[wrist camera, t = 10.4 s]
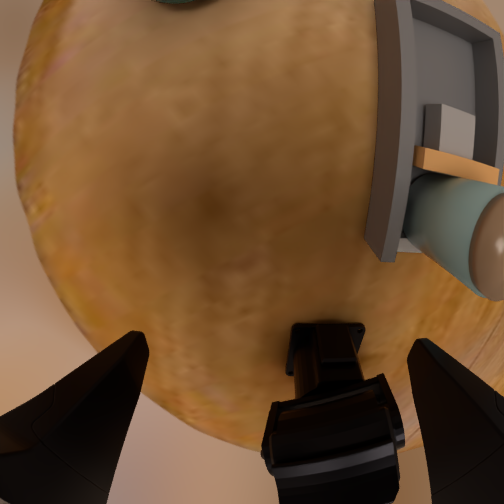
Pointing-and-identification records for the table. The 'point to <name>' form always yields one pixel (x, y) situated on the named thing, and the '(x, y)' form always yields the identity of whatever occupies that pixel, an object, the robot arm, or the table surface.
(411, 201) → the jar
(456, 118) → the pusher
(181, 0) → the beverage bottle
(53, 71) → the table surface
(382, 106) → the gray rectangular tray
